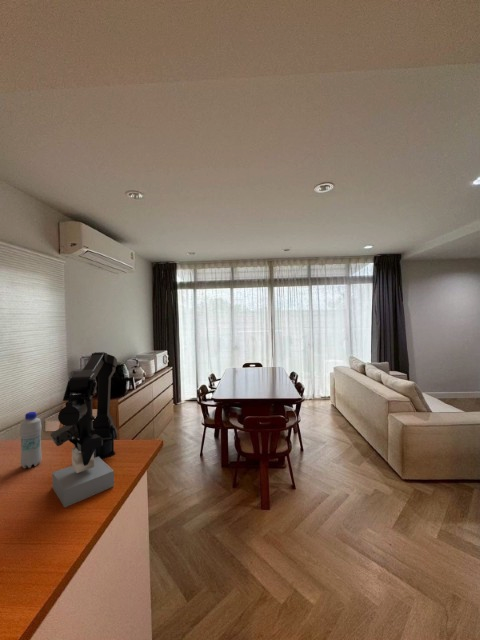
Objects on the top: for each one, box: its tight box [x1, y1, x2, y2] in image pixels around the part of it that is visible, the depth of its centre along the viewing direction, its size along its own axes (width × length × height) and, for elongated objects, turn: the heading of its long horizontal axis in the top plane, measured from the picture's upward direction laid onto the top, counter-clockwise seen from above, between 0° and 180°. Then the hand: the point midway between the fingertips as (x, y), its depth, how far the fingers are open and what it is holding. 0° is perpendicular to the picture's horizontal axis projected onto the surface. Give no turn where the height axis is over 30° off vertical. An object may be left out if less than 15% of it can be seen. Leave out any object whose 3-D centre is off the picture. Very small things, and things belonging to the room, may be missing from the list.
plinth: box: [52, 457, 115, 508], centre depth 89 cm, size 14×14×5 cm
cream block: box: [71, 447, 95, 473], centre depth 89 cm, size 5×5×6 cm
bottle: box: [19, 411, 43, 469], centre depth 103 cm, size 7×7×20 cm
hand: (83, 462), depth 89 cm, fingers closed on cream block, 5 cm apart
